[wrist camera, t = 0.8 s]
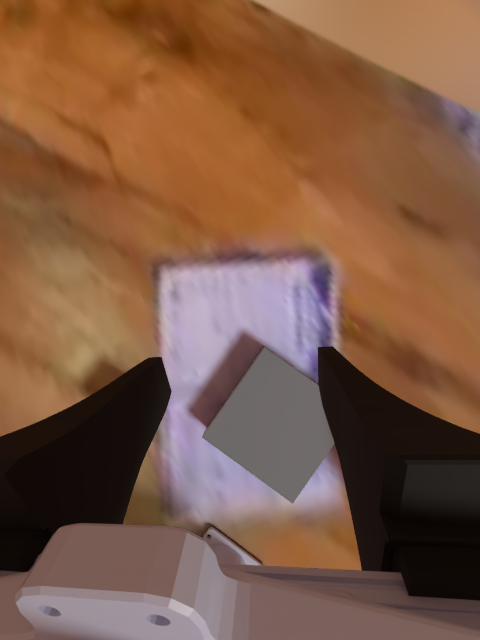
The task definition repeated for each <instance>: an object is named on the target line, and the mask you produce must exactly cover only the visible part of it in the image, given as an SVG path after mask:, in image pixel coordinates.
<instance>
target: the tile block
mask: <svg viewBox="0 0 480 640" xmlns="http://www.w3.org/2000/svg"><path fill="white" fill-rule="evenodd" d="M202 438H204V439H205V440H207V441H208V442H209V443H211V444H212V445H213V446H215V447H216V448H218V449H219V450H220V451H222V452H223V453H224V454H226V455H227V456H228V457H230V458H231V459H233V460H234V461H235V462H237V463H238V464H239V465H241V466H242V467H243V468H245V469H246V470H248V471H249V472H250V473H252V474H253V475H254V476H256V477H257V478H258V479H260V480H261V481H263V482H264V483H265V484H267V485H268V486H269V487H271V488H272V489H274V490H275V491H276V492H278V493H279V494H280V495H282V496H283V497H284V498H286V499H287V500H289V501H290V502H291V503H293V502H294V501H295V499H296V498H297V497H298V495H299V494H300V492H301V491H302V489H303V488H304V487H305V485H306V484H307V482H308V481H309V479H310V478H311V477H312V475H313V474H314V472H315V471H316V469H317V468H318V467H319V465H320V464H321V462H322V461H323V459H324V458H325V457H326V455H327V454H328V452H329V451H330V449H331V448H332V447H333V445H334V444H335V443H334V440H333V437H332V434H331V431H330V428H329V425H328V422H327V419H326V415H325V412H324V409H323V406H322V401H321V396H320V391H319V384H317V383H316V382H315V381H313V380H312V379H310V378H309V377H307V376H306V375H305V374H303V373H302V372H300V371H299V370H297V369H296V368H295V367H293V366H292V365H290V364H289V363H287V362H286V361H285V360H283V359H282V358H280V357H279V356H277V355H276V354H275V353H273V352H272V351H270V350H269V349H267V348H266V347H265V346H263V347H262V349H261V350H260V351H259V353H258V354H257V356H256V357H255V359H254V360H253V361H252V363H251V364H250V366H249V367H248V369H247V370H246V371H245V373H244V374H243V376H242V377H241V379H240V380H239V381H238V383H237V384H236V386H235V387H234V389H233V390H232V391H231V393H230V394H229V396H228V397H227V399H226V400H225V402H224V403H223V404H222V406H221V407H220V409H219V410H218V412H217V413H216V414H215V416H214V417H213V419H212V420H211V422H210V423H209V424H208V426H207V427H206V430H205V432H204V434H203V436H202Z"/></svg>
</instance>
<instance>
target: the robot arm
mask: <svg viewBox="0 0 480 640" xmlns="http://www.w3.org/2000/svg"><path fill="white" fill-rule="evenodd" d="M318 384H319V391H320V396H321V401H322V406H323V409H324V412H325V415H326V419H327V422H328V425H329V428H330V431H331V434H332V437H333V440H334V443H335V446H336V449H337V453H338V456H339V460H340V463H341V468H342V473H343V477H344V482H345V486H346V491H347V496H348V501H349V505H350V510H351V515H352V520H353V525H354V530H355V535H356V540H357V545H358V551H359V556H360V561H361V567H362V571H359V570H339V569H319V568H300V567H280V566H264V565H263V564H262V563H260V562H259V561H258V560H256V559H255V558H254V557H252V556H251V555H250V554H248V553H247V552H246V551H244V550H243V549H242V548H240V547H239V546H238V545H236V544H235V543H234V542H232V541H231V540H230V539H228V538H227V537H226V536H225V535H223V534H222V533H221V532H219V531H218V530H217V529H215V528H214V527H210V528H209V529H208V530H207V531H206V533H205V534H204V536H203V537H200V536H198V535H196V534H194V533H192V532H191V531H189V530H187V529H181V528H176V527H171V526H157V525H126V524H123V521H124V517H125V514H126V510H127V507H128V504H129V501H130V497H131V494H132V491H133V488H134V485H135V482H136V479H137V476H138V473H139V470H140V467H141V465H142V462H143V460H144V457H145V455H146V453H147V450H148V448H149V446H150V444H151V442H152V440H153V438H154V435H155V433H156V431H157V429H158V427H159V425H160V422H161V420H162V418H163V416H164V414H165V411H166V408H167V405H168V402H169V399H170V395H171V388H170V385H169V382H168V378H167V375H166V371H165V368H164V365H163V361H162V358H161V357H152V358H148V359H146V360H144V361H142V362H141V363H139V364H138V365H136V366H135V367H133V368H132V369H130V370H129V371H127V372H126V373H125V374H123V375H122V376H120V377H119V378H117V379H116V380H114V381H113V382H111V383H110V384H108V385H107V386H105V387H103V388H102V389H100V390H99V391H97V392H96V393H94V394H92V395H91V396H89V397H87V398H85V399H84V400H82V401H80V402H78V403H76V404H75V405H73V406H71V407H69V408H67V409H65V410H63V411H61V412H59V413H57V414H54V415H52V416H50V417H48V418H46V419H44V420H42V421H39V422H37V423H34V424H32V425H30V426H27V427H25V428H22V429H20V430H17V431H14V432H12V433H9V434H6V435H4V436H1V437H0V640H480V434H478V433H476V432H473V431H470V430H467V429H464V428H462V427H459V426H457V425H454V424H452V423H449V422H447V421H445V420H442V419H440V418H438V417H435V416H433V415H431V414H429V413H427V412H425V411H423V410H421V409H419V408H417V407H415V406H413V405H411V404H409V403H407V402H405V401H403V400H402V399H400V398H398V397H397V396H395V395H393V394H392V393H390V392H388V391H387V390H385V389H384V388H382V387H381V386H379V385H378V384H376V383H375V382H373V381H372V380H371V379H369V378H368V377H367V376H365V375H364V374H363V373H362V372H360V371H359V370H358V369H357V368H356V367H354V366H353V365H352V364H351V363H350V362H349V361H348V360H347V359H346V358H344V357H343V356H342V355H341V354H340V353H339V352H338V351H337V350H336V349H335V348H334V347H333V346H332V347H318ZM208 535H211V536H210V537H209V536H208Z"/></svg>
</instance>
